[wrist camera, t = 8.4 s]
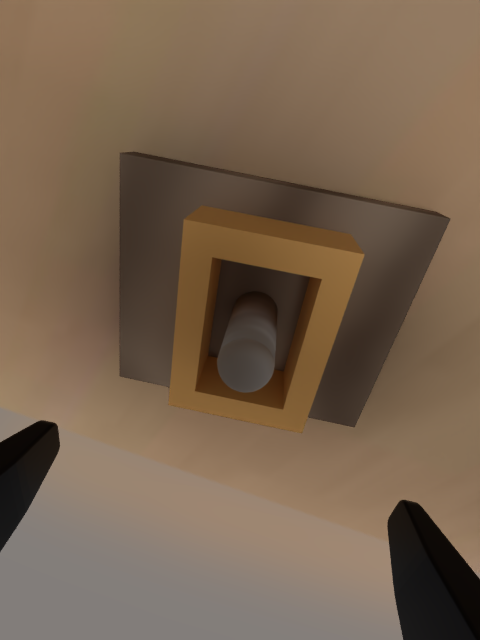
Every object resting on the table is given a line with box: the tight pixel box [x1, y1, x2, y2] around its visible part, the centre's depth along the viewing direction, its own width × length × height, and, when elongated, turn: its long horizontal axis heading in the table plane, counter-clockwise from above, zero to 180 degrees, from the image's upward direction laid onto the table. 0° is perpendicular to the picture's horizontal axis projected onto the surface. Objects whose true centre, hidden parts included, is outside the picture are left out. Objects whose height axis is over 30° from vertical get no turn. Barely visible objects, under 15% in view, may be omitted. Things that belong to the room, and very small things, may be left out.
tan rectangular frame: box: [168, 205, 365, 433], centre depth 16 cm, size 7×9×3 cm
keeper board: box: [120, 152, 450, 427], centre depth 15 cm, size 14×12×7 cm
